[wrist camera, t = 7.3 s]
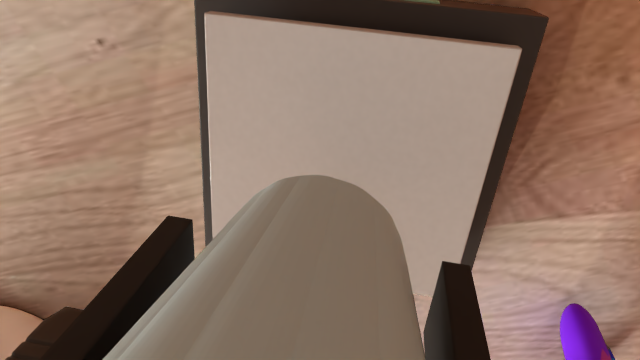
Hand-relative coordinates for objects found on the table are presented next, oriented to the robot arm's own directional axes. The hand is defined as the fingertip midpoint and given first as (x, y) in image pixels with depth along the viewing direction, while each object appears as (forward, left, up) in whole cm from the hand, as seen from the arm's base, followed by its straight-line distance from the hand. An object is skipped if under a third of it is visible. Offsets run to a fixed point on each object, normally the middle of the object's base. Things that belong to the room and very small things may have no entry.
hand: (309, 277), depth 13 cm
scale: (0, 0, -11) cm, 11 cm away
